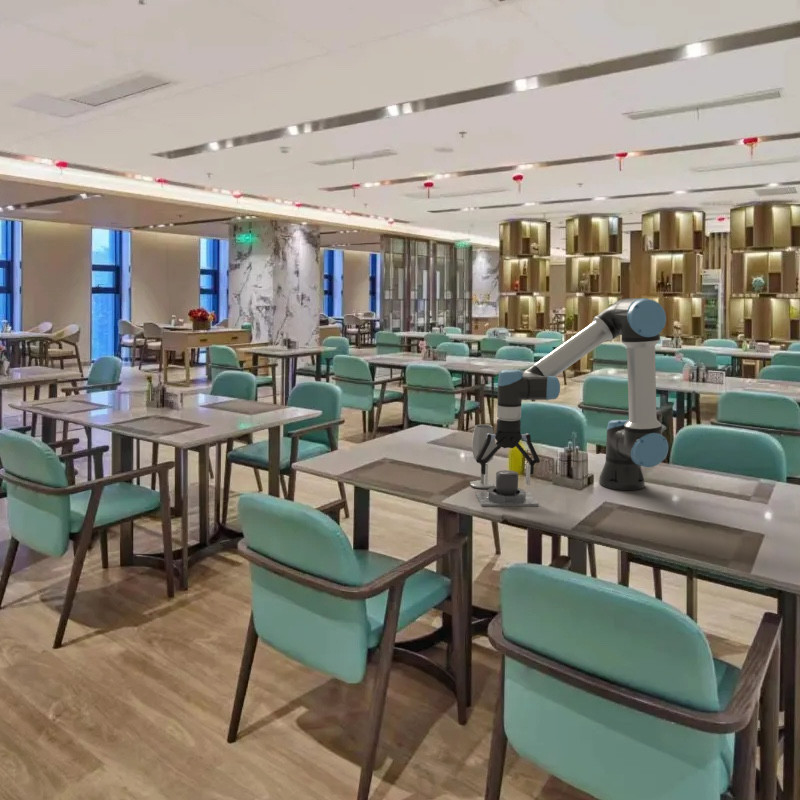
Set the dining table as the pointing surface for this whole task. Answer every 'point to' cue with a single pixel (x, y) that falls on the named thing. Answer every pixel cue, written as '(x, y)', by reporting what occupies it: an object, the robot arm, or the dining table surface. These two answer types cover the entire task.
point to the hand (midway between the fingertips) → (506, 484)
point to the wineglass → (477, 443)
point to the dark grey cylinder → (507, 482)
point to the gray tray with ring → (506, 498)
